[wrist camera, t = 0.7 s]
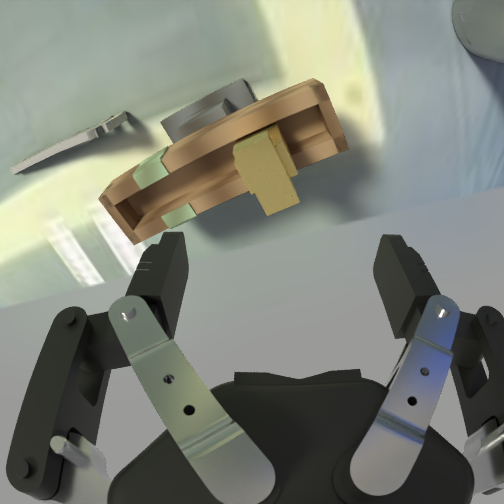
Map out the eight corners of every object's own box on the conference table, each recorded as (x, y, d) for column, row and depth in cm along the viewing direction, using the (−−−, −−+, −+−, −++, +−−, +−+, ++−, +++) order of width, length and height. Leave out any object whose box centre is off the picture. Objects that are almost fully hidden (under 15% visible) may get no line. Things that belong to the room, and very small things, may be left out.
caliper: (126, 109, 32) (105, 123, 27) (130, 117, 32) (109, 132, 27) (11, 167, 35) (-14, 187, 30) (14, 173, 35) (-10, 194, 30)
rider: (268, 106, 25) (277, 133, 18) (292, 154, 28) (308, 198, 21) (230, 123, 26) (224, 157, 19) (255, 170, 29) (259, 219, 22)
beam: (294, 55, 29) (313, 61, 20) (329, 135, 34) (356, 169, 26) (121, 146, 34) (85, 183, 26) (165, 210, 40) (145, 260, 32)
